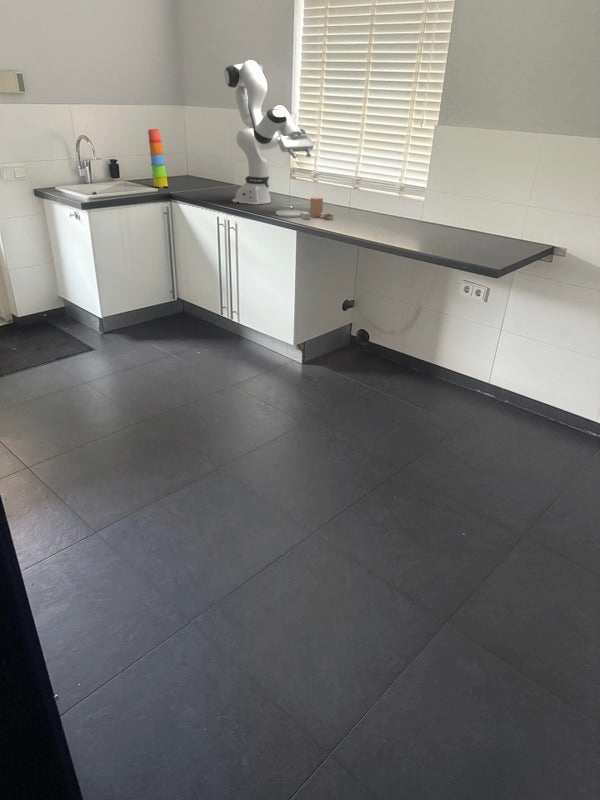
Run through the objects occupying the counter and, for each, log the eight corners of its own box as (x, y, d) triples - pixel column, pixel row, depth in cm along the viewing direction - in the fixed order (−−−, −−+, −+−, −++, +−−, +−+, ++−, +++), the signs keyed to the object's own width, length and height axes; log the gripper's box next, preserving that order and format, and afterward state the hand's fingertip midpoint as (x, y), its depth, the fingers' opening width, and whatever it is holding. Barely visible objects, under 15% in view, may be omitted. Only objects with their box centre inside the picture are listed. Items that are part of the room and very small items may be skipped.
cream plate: (272, 216, 293) (272, 213, 292) (280, 211, 305) (280, 208, 305) (300, 218, 290) (300, 215, 289) (306, 213, 302) (306, 210, 302)
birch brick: (321, 220, 287) (321, 214, 286) (320, 219, 290) (320, 212, 288) (333, 220, 288) (333, 214, 287) (331, 219, 291) (332, 212, 289)
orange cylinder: (310, 215, 296) (310, 197, 291) (316, 215, 298) (317, 197, 294) (315, 217, 293) (316, 199, 288) (322, 216, 295) (322, 198, 291)
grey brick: (300, 217, 292) (300, 211, 290) (305, 217, 292) (306, 211, 291) (304, 220, 287) (304, 213, 285) (309, 219, 288) (309, 213, 286)
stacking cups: (166, 188, 366) (161, 129, 350) (151, 188, 366) (145, 129, 350) (170, 186, 375) (166, 128, 359) (155, 186, 375) (150, 128, 359)
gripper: (277, 130, 286) (289, 153, 284) (308, 130, 298) (320, 151, 296) (272, 139, 291) (284, 162, 289) (302, 138, 303) (314, 160, 301)
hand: (302, 157), depth 293 cm, fingers open, 8 cm apart
